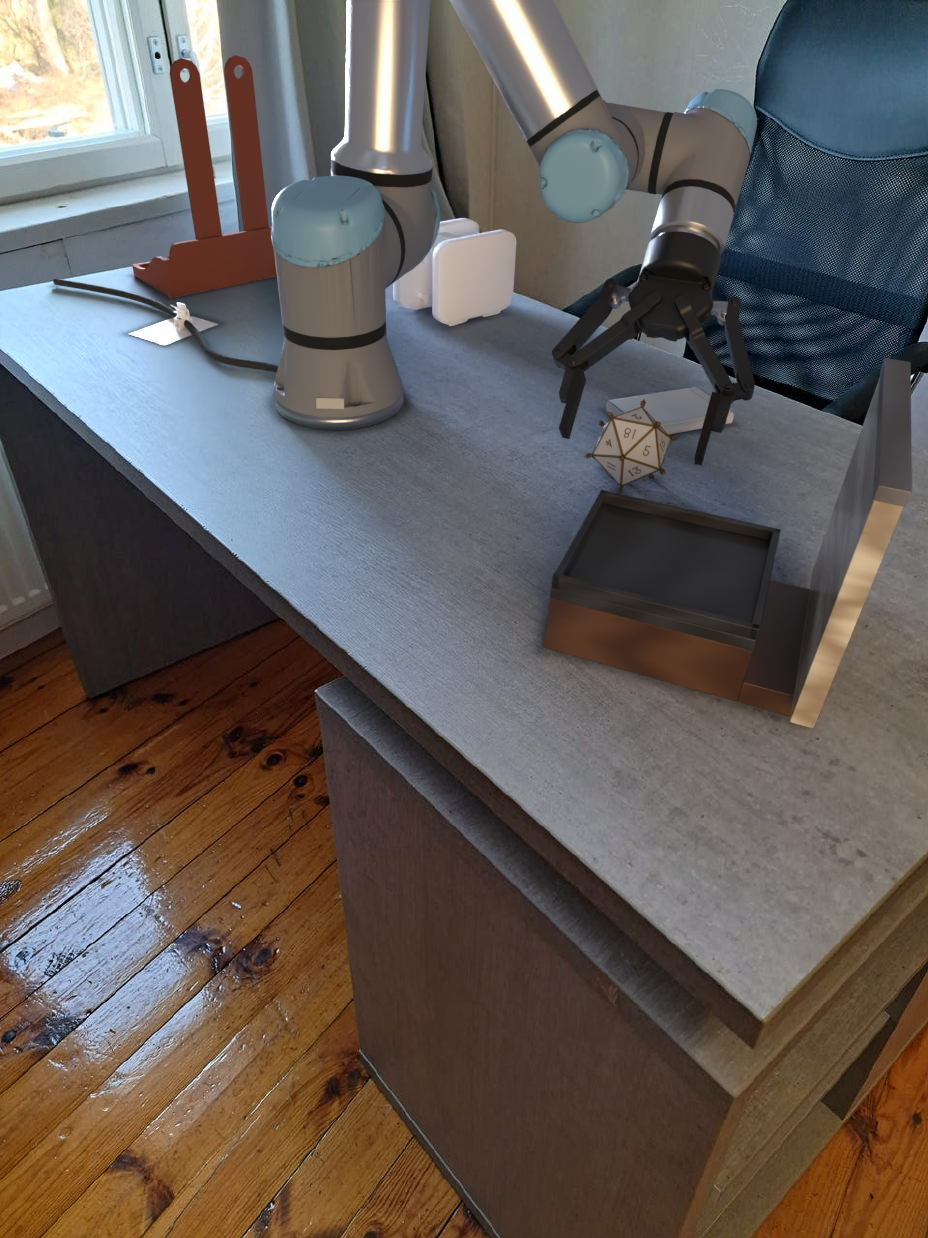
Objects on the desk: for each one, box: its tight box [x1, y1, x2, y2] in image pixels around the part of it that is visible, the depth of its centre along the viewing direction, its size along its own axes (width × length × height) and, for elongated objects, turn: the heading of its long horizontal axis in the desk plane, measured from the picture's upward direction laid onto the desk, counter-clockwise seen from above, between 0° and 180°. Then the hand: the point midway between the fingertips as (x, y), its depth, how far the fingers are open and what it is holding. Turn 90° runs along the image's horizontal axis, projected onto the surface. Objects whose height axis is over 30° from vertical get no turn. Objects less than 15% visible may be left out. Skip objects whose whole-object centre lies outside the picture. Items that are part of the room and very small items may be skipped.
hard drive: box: [605, 386, 735, 436], centre depth 101 cm, size 2×8×12 cm
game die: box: [583, 399, 680, 494], centre depth 87 cm, size 9×8×10 cm
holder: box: [543, 357, 913, 729], centre depth 64 cm, size 20×20×21 cm
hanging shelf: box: [131, 54, 277, 299], centre depth 130 cm, size 24×13×30 cm, turn 130°
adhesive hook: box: [169, 301, 193, 331], centre depth 119 cm, size 3×3×3 cm
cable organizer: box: [392, 217, 517, 327], centre depth 125 cm, size 15×11×12 cm
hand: (629, 447), depth 85 cm, fingers open, 13 cm apart
